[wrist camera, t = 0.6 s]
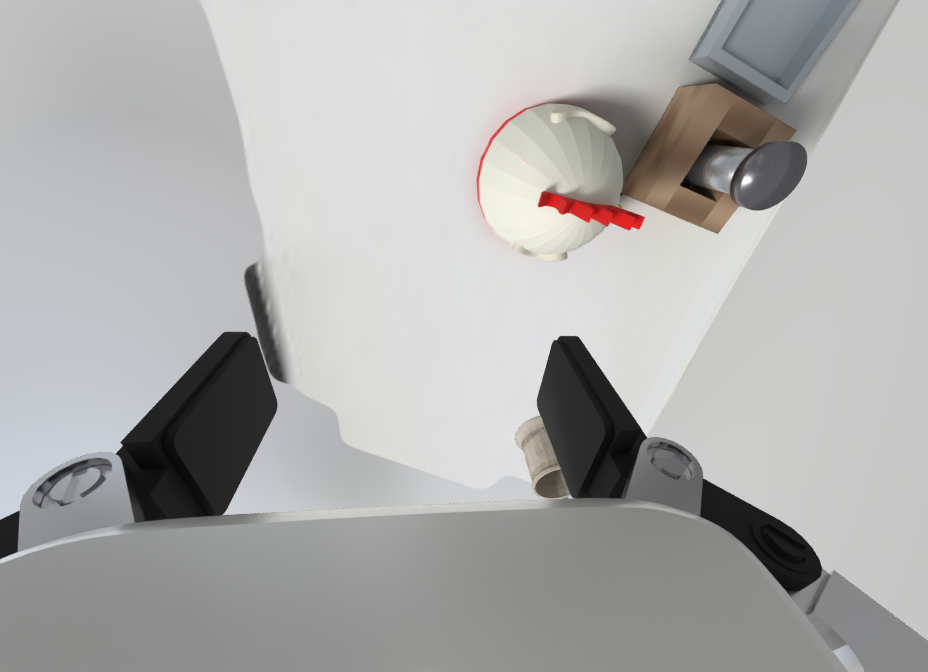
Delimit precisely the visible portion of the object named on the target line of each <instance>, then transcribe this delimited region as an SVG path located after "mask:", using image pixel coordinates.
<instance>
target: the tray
mask: <svg viewBox="0 0 928 672" xmlns="http://www.w3.org/2000/svg"><path fill="white" fill-rule="evenodd" d="M859 1H860V0H722V1H721V3H720V5H719V6H718V8H717V10H716V12H715V14H714V15H713V17H712V19H711V21H710V22H709V24H708V26H707V28H706V30H705V31H704V33H703V35H702V37H701V39H700V40H699V42H698V44H697V46H696V48H695V49H694V51H693V53H692V55H691V57H690V58H689V60H690V61H692V62H693V63H695V64H697V65H698V66H700V67H702V68H703V69H705V70H707V71H708V72H710V73H712V74H713V75H715V76H717V77H718V78H720V79H722V80H723V81H725V82H727V83H728V84H730V85H732V86H734V87H735V88H737V89H739V90H740V91H742V92H744V93H745V94H747V95H749V96H750V97H752V98H754V99H755V100H757V101H759V102H760V103H762V104H786V103H787V102H788V100H789V99H790V97H791V96H792V95H793V93H794V92H795V90H796V89H797V88H798V86H799V85H800V84H801V82H802V81H803V79H804V78H805V77H806V75H807V74H808V72H809V71H810V70H811V68H812V67H813V65H814V64H815V63H816V61H817V60H818V58H819V57H820V56H821V54H822V53H823V51H824V50H825V49H826V47H827V46H828V44H829V43H830V42H831V40H832V39H833V38H834V36H835V35H836V33H837V32H838V31H839V29H840V28H841V26H842V25H843V24H844V22H845V21H846V19H847V18H848V17H849V15H850V14H851V12H852V11H853V10H854V8H855V7H856V5H857V4H858V3H859Z"/></svg>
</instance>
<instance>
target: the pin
mask: <svg viewBox="0 0 928 672" xmlns="http://www.w3.org/2000/svg"><path fill="white" fill-rule="evenodd" d="M806 165H807V153H806V150H805V148H804V147H803V146H802V145H801V144H799V143H796V142H788V141H771V142H767V143H765V144H762V145H761V146H759V147H757V148H756V149H750V148H741V147H731V146H721V145H712V144H706V145H705V147H704V148H703V150H702V152H701V153H700V155H699V156H698V158H697V159H696V161H695V162H694V164H693V165H692V167H691V169H690V170H689V172H688V173H687V175H686V176H685V178H684V179H683V181H682V182H686V183H690V184H694V185H697V186H701V187H705V188H709V189H713V190H717V191H720V192H724V193H728V194H730V197H731V199H732V201H733V202H734V203H735V204H736V205H738V206H741V207H744V208H747V209H751V210H764V209H768V208H770V207H772V206H774V205H776V204H778V203H779V202H781V201H782V200H784V199H785V198H786V197H787V196H788V195H789V194H790V193H791V192H792V191H793V190H794V189H795V187H796V186H797V185H798V183H799V182H800V180H801V178H802V176H803V174H804V171H805V169H806Z"/></svg>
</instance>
